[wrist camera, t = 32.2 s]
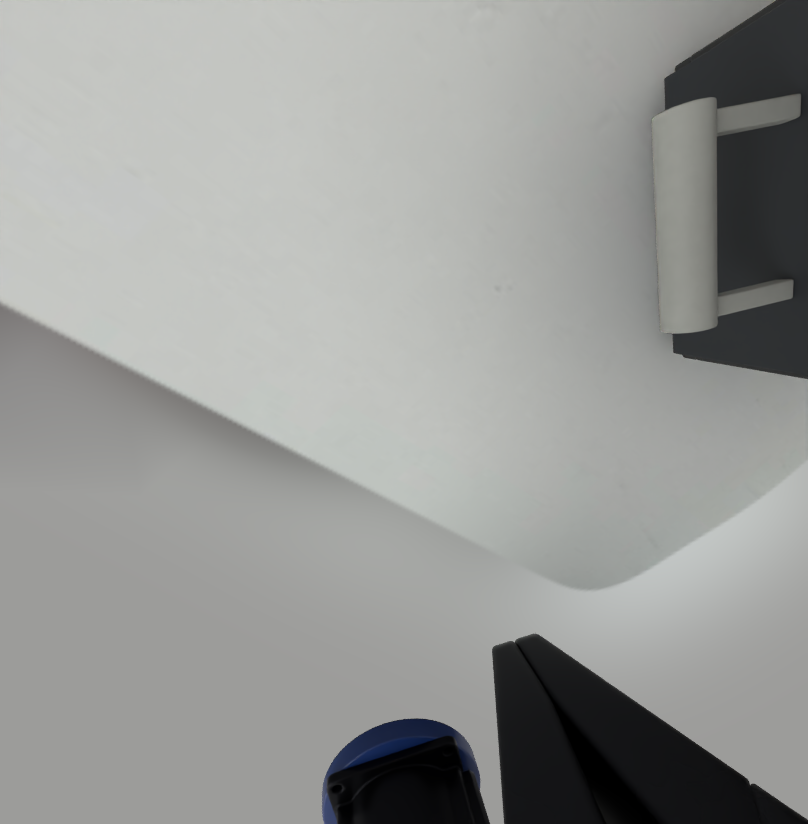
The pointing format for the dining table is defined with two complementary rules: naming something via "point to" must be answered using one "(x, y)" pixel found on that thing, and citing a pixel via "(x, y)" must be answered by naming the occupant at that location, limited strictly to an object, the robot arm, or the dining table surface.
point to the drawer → (737, 197)
